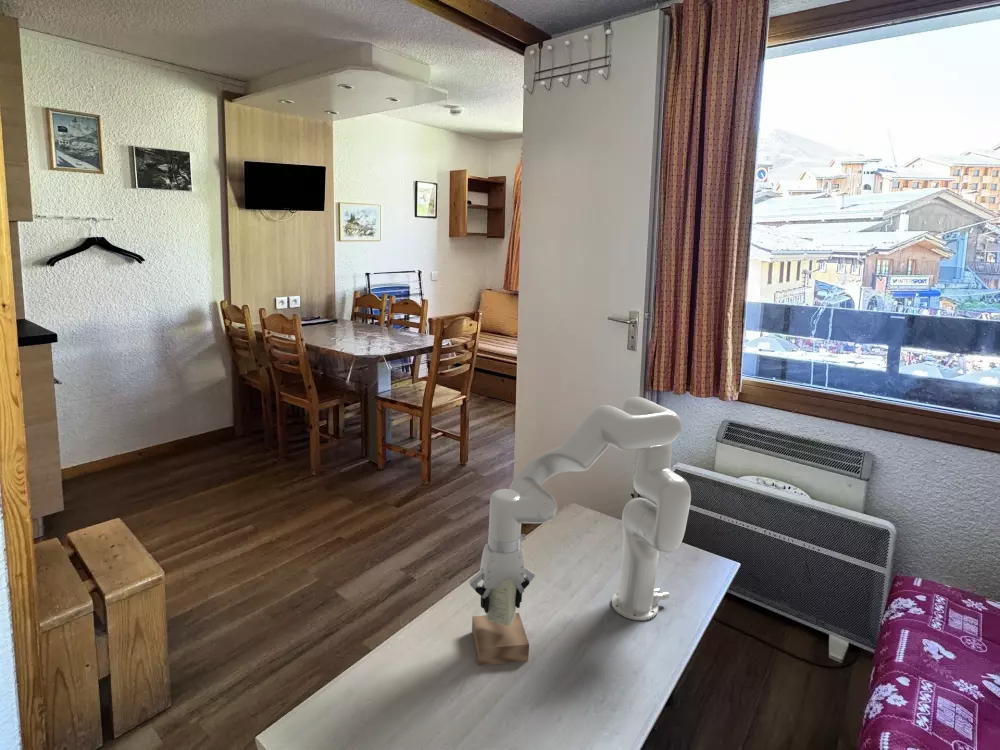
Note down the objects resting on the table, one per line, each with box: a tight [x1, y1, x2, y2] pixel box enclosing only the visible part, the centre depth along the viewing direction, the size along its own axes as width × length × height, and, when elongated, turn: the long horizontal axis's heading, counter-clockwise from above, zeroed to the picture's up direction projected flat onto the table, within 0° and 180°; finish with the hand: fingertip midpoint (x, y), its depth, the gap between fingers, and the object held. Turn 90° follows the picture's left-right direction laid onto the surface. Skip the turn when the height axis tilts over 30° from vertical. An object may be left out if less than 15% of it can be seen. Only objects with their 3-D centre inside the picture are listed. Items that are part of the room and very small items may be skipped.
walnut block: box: [471, 612, 530, 666], centre depth 151 cm, size 12×12×5 cm
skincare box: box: [485, 579, 517, 626], centre depth 148 cm, size 6×4×12 cm
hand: (500, 606), depth 149 cm, fingers closed on skincare box, 7 cm apart
